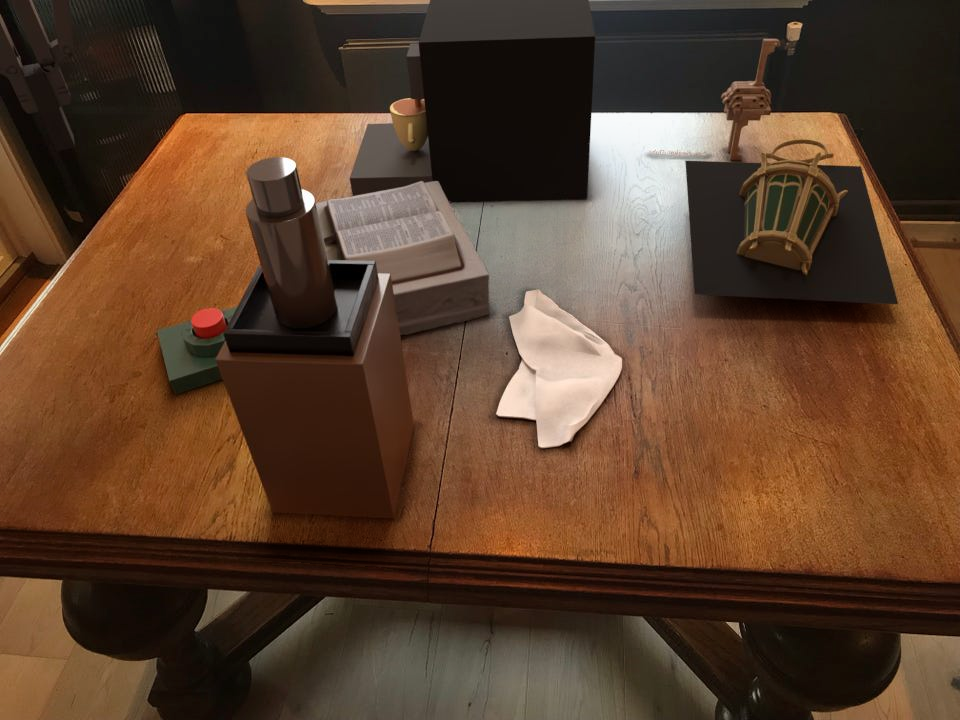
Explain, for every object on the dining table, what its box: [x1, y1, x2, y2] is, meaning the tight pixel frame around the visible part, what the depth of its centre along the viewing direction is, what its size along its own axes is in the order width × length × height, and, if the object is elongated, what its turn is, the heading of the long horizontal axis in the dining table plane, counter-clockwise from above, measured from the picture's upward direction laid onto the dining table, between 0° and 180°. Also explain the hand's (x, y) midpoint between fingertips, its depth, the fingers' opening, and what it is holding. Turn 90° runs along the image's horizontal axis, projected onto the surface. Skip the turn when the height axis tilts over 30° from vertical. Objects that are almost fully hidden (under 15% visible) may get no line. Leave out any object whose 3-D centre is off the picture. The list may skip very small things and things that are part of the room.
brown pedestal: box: [215, 260, 415, 520], centre depth 71 cm, size 12×12×22 cm
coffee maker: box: [349, 0, 596, 203], centre depth 114 cm, size 18×35×24 cm, turn 88°
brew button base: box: [156, 305, 238, 395], centre depth 91 cm, size 12×10×4 cm
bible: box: [316, 181, 491, 336], centre depth 99 cm, size 23×27×10 cm
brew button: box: [190, 307, 226, 339], centre depth 90 cm, size 4×4×2 cm
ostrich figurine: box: [649, 38, 781, 161], centre depth 117 cm, size 17×7×18 cm, turn 84°
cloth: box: [495, 288, 623, 449], centre depth 88 cm, size 26×14×2 cm, turn 172°
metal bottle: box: [245, 156, 338, 329], centre depth 60 cm, size 5×5×13 cm
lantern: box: [684, 138, 899, 305], centre depth 99 cm, size 14×23×30 cm
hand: (65, 142), depth 68 cm, fingers closed
